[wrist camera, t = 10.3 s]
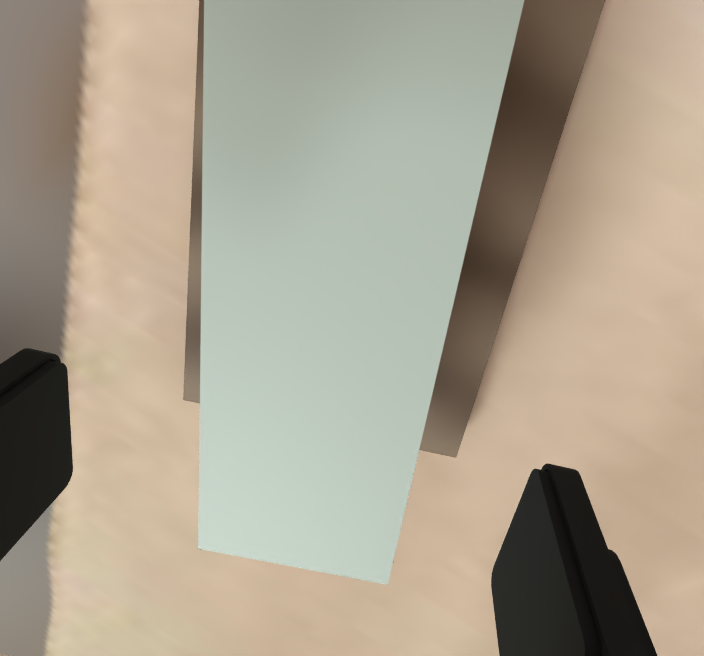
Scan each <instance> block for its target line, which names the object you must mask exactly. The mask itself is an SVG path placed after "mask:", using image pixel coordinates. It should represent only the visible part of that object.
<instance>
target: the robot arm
mask: <svg viewBox="0 0 704 656" xmlns="http://www.w3.org/2000/svg"><path fill="white" fill-rule="evenodd" d="M72 472H73V463H72V445H71V428H70V410H69V392H68V375H67V367H66V366H65V364H63V363H61V361H60V359H59V357H58V356H57V355H56V354H52V353H47V352H43V351H39V350H34V349H29V348H28V349H26V348H25V349H23V350H21V351H19V352H18V353H16V354H15V355H13V356H12V357H10V358H9V359H7V360H6V361H4V362H3V363H1V364H0V561H1V559H2V558H3V557H4V556H5V555H6V554H7V553H8V552H9V550H10V549H11V548H12V547H13V546H14V545H15V544H16V543H17V541H18V540H19V539H20V538H21V537H22V536H23V535H24V534H25V532H26V531H27V530H28V529H29V528H30V527H31V526H32V525H33V524H34V522H35V521H36V520H37V519H38V518H39V517H40V516H41V515H42V513H43V512H44V511H45V510H46V509H47V508H48V507H49V506H50V504H51V503H52V502H53V501H54V500H55V499H56V498H57V497H58V495H59V494H60V493H61V492H62V491H63V490H64V489H65V487H66V486H67V485H68V483H69V481H70V479H71V476H72ZM491 586H492V595H493V604H494V612H495V620H496V629H497V637H498V646H499V654H500V656H657V654H656V651H655V648H654V646H653V643H652V641H651V638H650V636H649V633H648V631H647V628H646V626H645V623H644V620H643V618H642V615H641V613H640V610H639V608H638V605H637V603H636V600H635V598H634V595H633V592H632V590H631V587H630V585H629V582H628V580H627V577H626V575H625V572H624V569H623V567H622V564H621V562H620V560H619V558H618V556H617V554H616V553H614V552H613V551H612V550H609V549H608V548H607V545H606V543H605V540H604V537H603V535H602V532H601V529H600V527H599V524H598V521H597V519H596V516H595V513H594V511H593V508H592V505H591V503H590V500H589V497H588V495H587V492H586V489H585V487H584V484H583V481H582V479H581V476H580V474H579V472H578V471H577V470H574V469H570V468H565V467H561V466H556V465H552V464H545V465H544V466H543V467H542V469H541V470H539V469H534V470H533V471H532V472H531V474H530V477H529V479H528V482H527V484H526V487H525V489H524V492H523V494H522V497H521V499H520V502H519V504H518V507H517V509H516V512H515V514H514V517H513V519H512V522H511V524H510V527H509V529H508V532H507V534H506V537H505V539H504V542H503V545H502V547H501V550H500V552H499V555H498V557H497V560H496V562H495V565H494V568H493V572H492V579H491ZM0 656H9V655H5V654H0Z"/></svg>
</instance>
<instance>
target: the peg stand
mask: <svg viewBox="0 0 704 656" xmlns="http://www.w3.org/2000/svg"><path fill="white" fill-rule="evenodd" d="M604 2H605V0H524V4H523V8H522V13H521V17H520V21H519V25H518V30H517V34H516V38H515V43H514V47H513V51H512V55H511V60H510V64H509V68H508V72H507V77H506V81H505V85H504V90H503V94H502V98H501V102H500V107H499V111H498V115H497V119H496V124H495V128H494V132H493V137H492V141H491V145H490V149H489V154H488V158H487V162H486V166H485V171H484V175H483V179H482V184H481V188H480V192H479V196H478V201H477V205H476V209H475V213H474V218H473V222H472V226H471V231H470V235H469V239H468V243H467V248H466V252H465V256H464V260H463V265H462V269H461V273H460V278H459V282H458V286H457V290H456V295H455V299H454V303H453V308H452V312H451V316H450V320H449V325H448V329H447V333H446V337H445V342H444V346H443V350H442V355H441V359H440V363H439V367H438V372H437V376H436V380H435V384H434V389H433V393H432V397H431V402H430V406H429V410H428V414H427V419H426V423H425V427H424V431H423V436H422V440H421V444H420V449H419V450H422V451H427V452H432V453H437V454H441V455H446V456H451V457H455V458H456V456H457V453H458V450H459V447H460V444H461V441H462V438H463V435H464V432H465V429H466V426H467V423H468V420H469V416H470V413H471V410H472V407H473V404H474V401H475V398H476V395H477V392H478V389H479V386H480V383H481V380H482V377H483V373H484V370H485V367H486V364H487V361H488V358H489V355H490V352H491V349H492V346H493V343H494V340H495V337H496V334H497V330H498V327H499V324H500V321H501V318H502V315H503V312H504V309H505V306H506V303H507V300H508V297H509V294H510V291H511V287H512V284H513V281H514V278H515V275H516V272H517V269H518V266H519V263H520V260H521V257H522V254H523V251H524V248H525V245H526V241H527V238H528V235H529V232H530V229H531V226H532V223H533V220H534V217H535V214H536V211H537V208H538V205H539V202H540V198H541V195H542V192H543V189H544V186H545V183H546V180H547V177H548V174H549V171H550V168H551V165H552V162H553V159H554V155H555V152H556V149H557V146H558V143H559V140H560V137H561V134H562V131H563V128H564V125H565V122H566V119H567V116H568V112H569V109H570V106H571V103H572V100H573V97H574V94H575V91H576V88H577V85H578V82H579V79H580V76H581V73H582V69H583V66H584V63H585V60H586V57H587V54H588V51H589V48H590V45H591V42H592V39H593V36H594V33H595V30H596V27H597V23H598V20H599V17H600V14H601V11H602V8H603V5H604ZM203 58H204V0H199V23H198V48H197V73H196V98H195V123H194V148H193V173H192V198H191V223H190V247H189V272H188V297H187V322H186V347H185V372H184V397H183V400H186V401H191V402H195V403H200V345H201V249H202V153H203Z"/></svg>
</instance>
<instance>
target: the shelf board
mask: <svg viewBox="0 0 704 656" xmlns="http://www.w3.org/2000/svg"><path fill="white" fill-rule="evenodd" d="M523 4H524V0H204V58H203V153H202V249H201V345H200V440H199V536H198V549H203V550H208V551H213V552H219V553H224V554H229V555H234V556H240V557H245V558H250V559H255V560H260V561H266V562H271V563H276V564H281V565H287V566H292V567H297V568H302V569H308V570H313V571H318V572H323V573H329V574H334V575H339V576H344V577H350V578H355V579H360V580H365V581H371V582H376V583H381V584H386V585H388V581H389V577H390V572H391V568H392V564H393V560H394V555H395V551H396V547H397V543H398V538H399V534H400V530H401V525H402V521H403V517H404V513H405V508H406V504H407V500H408V496H409V491H410V487H411V483H412V478H413V474H414V470H415V466H416V461H417V457H418V453H419V449H420V444H421V440H422V436H423V431H424V427H425V423H426V419H427V414H428V410H429V406H430V402H431V397H432V393H433V389H434V384H435V380H436V376H437V372H438V367H439V363H440V359H441V355H442V350H443V346H444V342H445V337H446V333H447V329H448V325H449V320H450V316H451V312H452V308H453V303H454V299H455V295H456V290H457V286H458V282H459V278H460V273H461V269H462V265H463V260H464V256H465V252H466V248H467V243H468V239H469V235H470V231H471V226H472V222H473V218H474V213H475V209H476V205H477V201H478V196H479V192H480V188H481V184H482V179H483V175H484V171H485V166H486V162H487V158H488V154H489V149H490V145H491V141H492V137H493V132H494V128H495V124H496V119H497V115H498V111H499V107H500V102H501V98H502V94H503V90H504V85H505V81H506V77H507V72H508V68H509V64H510V60H511V55H512V51H513V47H514V43H515V38H516V34H517V30H518V25H519V21H520V17H521V13H522V8H523Z"/></svg>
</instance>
